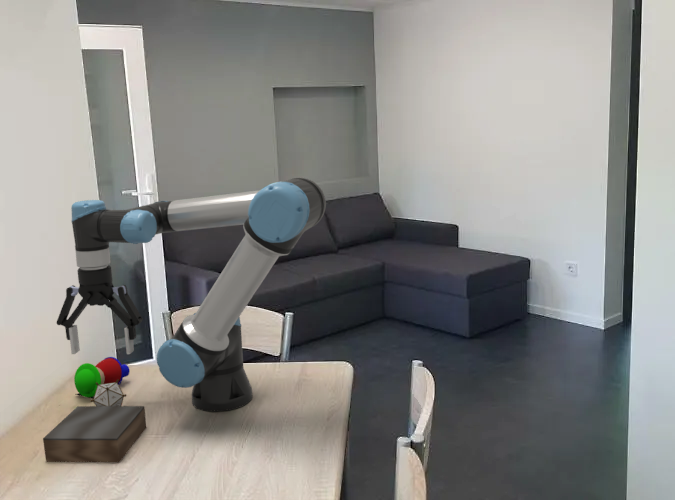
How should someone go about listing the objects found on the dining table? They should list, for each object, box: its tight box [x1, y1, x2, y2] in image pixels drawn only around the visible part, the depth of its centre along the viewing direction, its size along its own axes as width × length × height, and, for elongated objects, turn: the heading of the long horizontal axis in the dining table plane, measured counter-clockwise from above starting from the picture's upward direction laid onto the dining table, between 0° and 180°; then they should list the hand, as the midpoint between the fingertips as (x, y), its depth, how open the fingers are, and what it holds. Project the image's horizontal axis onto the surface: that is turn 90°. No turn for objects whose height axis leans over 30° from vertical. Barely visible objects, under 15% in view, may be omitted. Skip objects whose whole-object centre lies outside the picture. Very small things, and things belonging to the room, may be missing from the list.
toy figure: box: [73, 356, 130, 400], centre depth 179 cm, size 9×10×15 cm
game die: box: [90, 380, 128, 406], centre depth 165 cm, size 9×8×10 cm
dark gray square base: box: [42, 405, 147, 463], centre depth 149 cm, size 16×16×5 cm
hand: (102, 352), depth 163 cm, fingers open, 13 cm apart
